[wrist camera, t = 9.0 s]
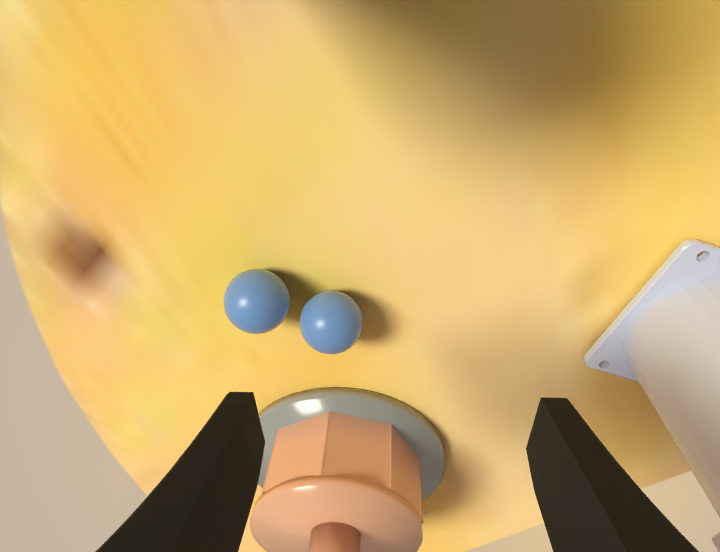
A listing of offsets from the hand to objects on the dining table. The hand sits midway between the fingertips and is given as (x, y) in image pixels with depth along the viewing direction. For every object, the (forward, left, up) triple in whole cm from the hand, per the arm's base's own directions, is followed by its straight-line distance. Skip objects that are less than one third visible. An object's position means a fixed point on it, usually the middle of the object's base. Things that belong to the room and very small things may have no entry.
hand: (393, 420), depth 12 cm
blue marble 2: (+1, +5, -10) cm, 12 cm away
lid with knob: (-3, +17, -10) cm, 19 cm away
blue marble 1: (+5, +5, -10) cm, 12 cm away
